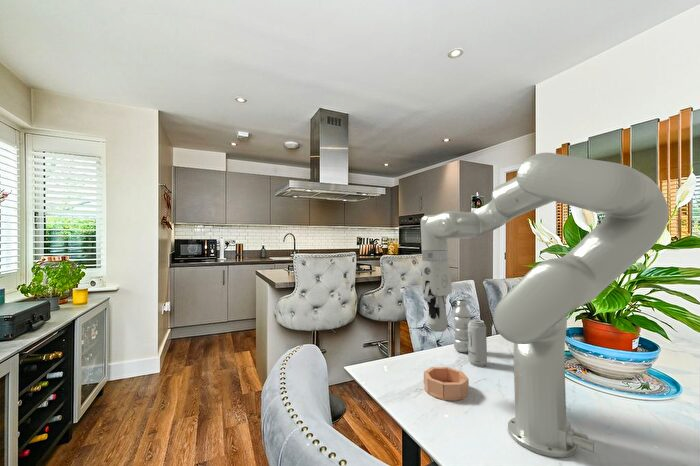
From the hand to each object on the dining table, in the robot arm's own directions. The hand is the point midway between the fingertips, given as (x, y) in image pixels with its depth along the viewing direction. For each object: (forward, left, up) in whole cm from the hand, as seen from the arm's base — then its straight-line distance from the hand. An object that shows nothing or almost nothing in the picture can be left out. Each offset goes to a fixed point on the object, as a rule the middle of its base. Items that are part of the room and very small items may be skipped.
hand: (437, 318), depth 87 cm
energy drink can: (0, -27, -21) cm, 34 cm away
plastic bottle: (+9, -35, -21) cm, 42 cm away
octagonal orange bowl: (-1, -2, -21) cm, 21 cm away
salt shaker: (0, 0, -3) cm, 3 cm away
